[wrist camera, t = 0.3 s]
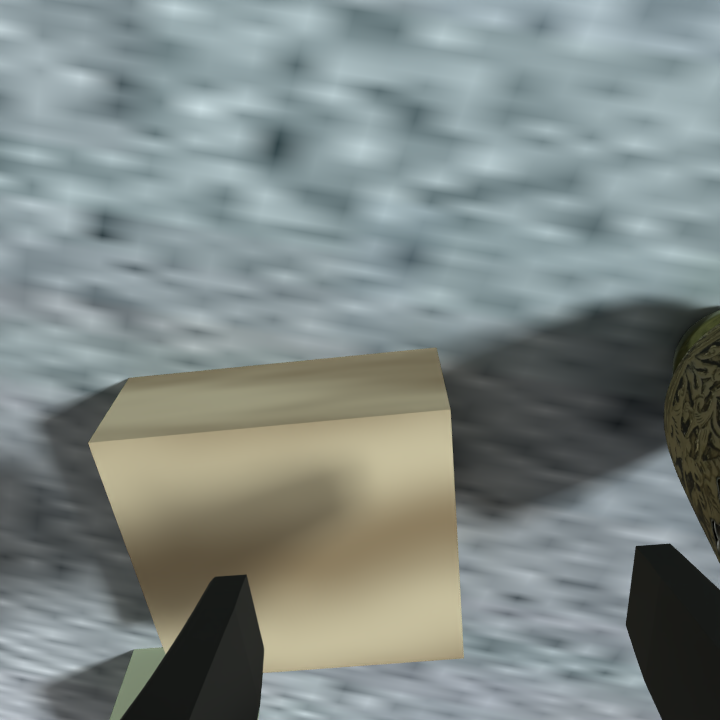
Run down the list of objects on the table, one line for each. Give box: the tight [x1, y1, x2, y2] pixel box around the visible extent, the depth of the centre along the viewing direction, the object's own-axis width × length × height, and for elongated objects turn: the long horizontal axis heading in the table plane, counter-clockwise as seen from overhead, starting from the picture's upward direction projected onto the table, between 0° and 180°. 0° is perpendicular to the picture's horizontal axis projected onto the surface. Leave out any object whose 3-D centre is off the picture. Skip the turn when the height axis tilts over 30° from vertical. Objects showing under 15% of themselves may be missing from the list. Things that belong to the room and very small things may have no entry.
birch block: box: [88, 348, 464, 673], centre depth 22 cm, size 10×10×4 cm
